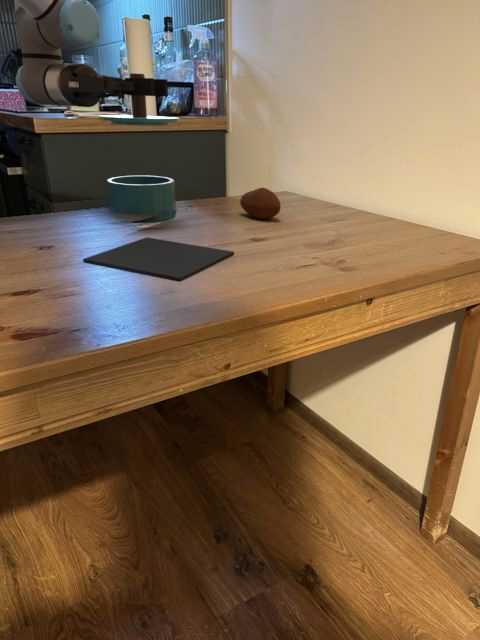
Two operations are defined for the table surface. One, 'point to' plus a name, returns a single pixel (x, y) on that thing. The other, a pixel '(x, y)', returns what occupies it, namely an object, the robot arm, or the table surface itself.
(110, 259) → the placemat
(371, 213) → the table surface
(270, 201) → the potato
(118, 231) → the table surface
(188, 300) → the table surface
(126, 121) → the tin lid
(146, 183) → the green round tin
